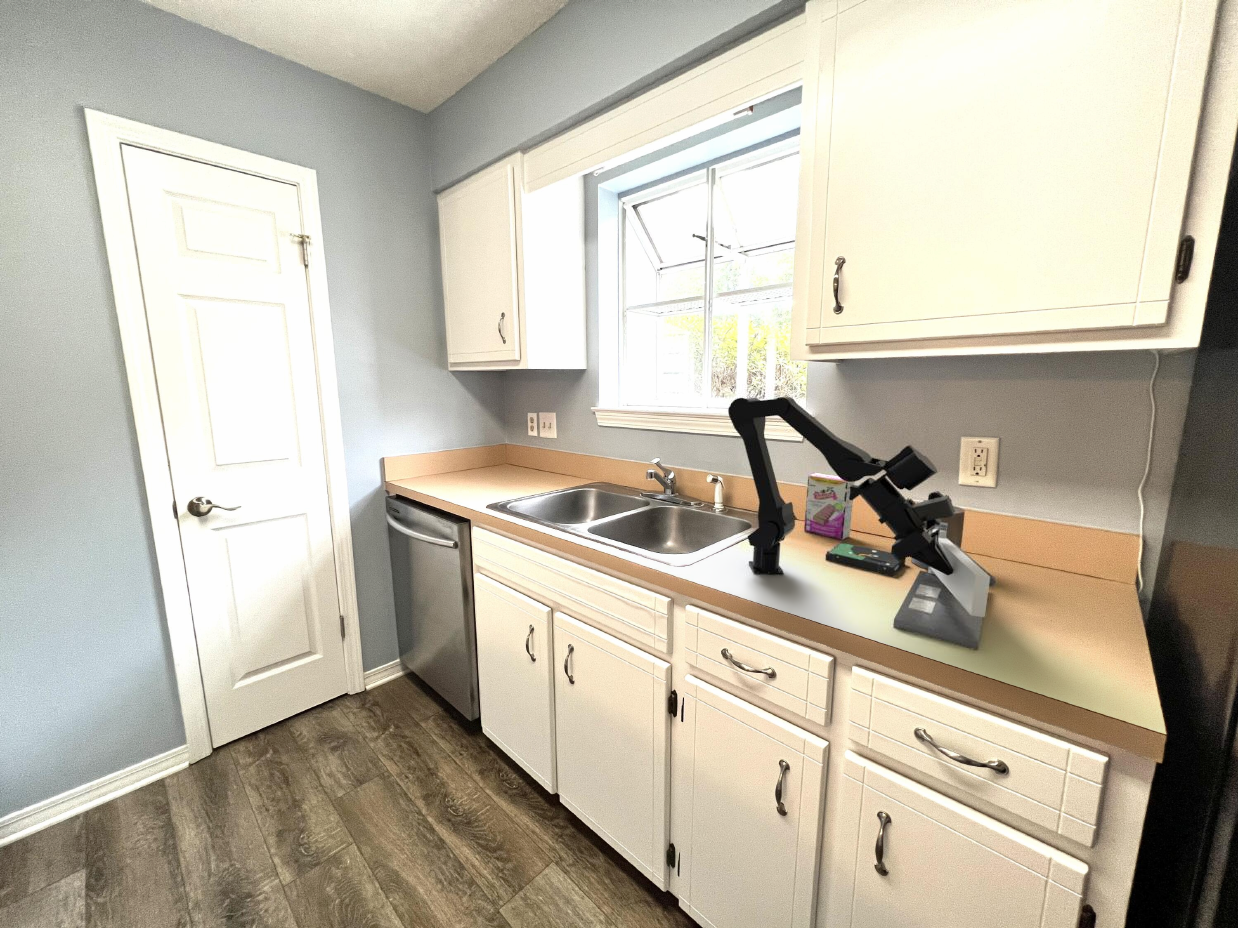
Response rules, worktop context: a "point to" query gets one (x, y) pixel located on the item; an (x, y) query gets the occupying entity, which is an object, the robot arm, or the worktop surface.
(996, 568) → the worktop surface
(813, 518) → the candy bar box
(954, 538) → the pillar candle
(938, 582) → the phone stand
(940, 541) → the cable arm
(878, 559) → the disk drive
